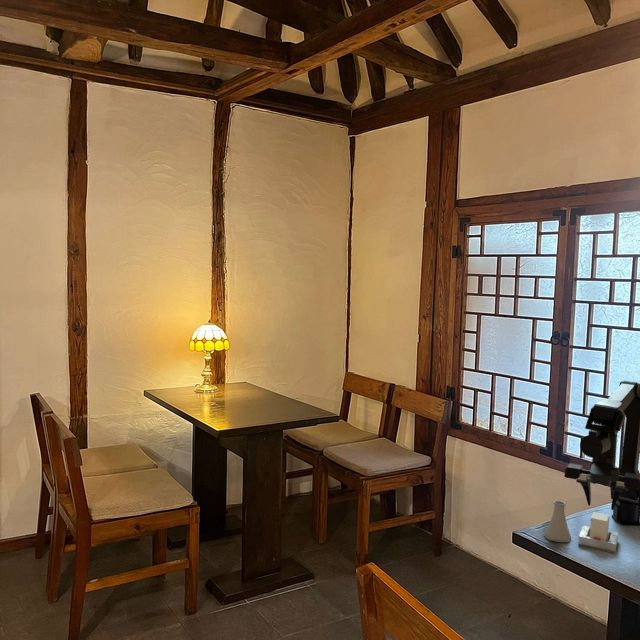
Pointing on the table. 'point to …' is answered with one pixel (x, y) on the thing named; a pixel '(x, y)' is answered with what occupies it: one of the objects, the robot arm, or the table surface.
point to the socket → (598, 540)
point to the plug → (599, 526)
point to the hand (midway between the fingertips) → (600, 507)
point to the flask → (558, 524)
